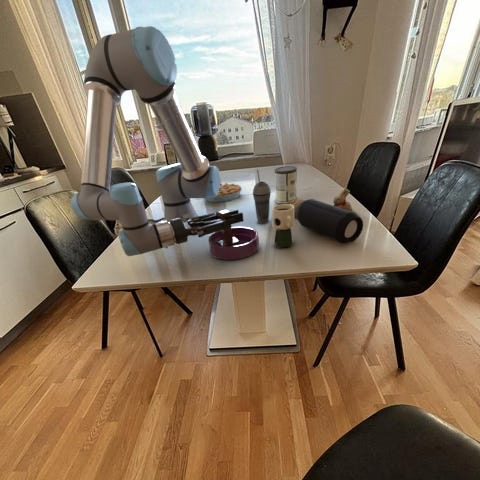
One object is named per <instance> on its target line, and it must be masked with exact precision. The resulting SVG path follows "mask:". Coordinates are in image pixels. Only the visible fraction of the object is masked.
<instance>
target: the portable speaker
mask: <svg viewBox="0 0 480 480" xmlns="http://www.w3.org/2000/svg"><path fill="white" fill-rule="evenodd" d="M304 200H305V201H303V202H301V203H300V205H299V206H298V208H297V211H296V217H297V218H296V220H297V221H298V223H299V224H300V225H301V226H303V227H305V228H308V229H310V230H313V231H315V232H317V233H319V234H321V235H323V236H325V237H328V238H330V239H333V240H334V241H336V242H339V243H341V244H349V243H354V242H355V241H357V239H358V238H359V237H360V235H361V234H362V232H363V228H364V221H363V218H361V216H360V215H359V214H357V213H356V212H354V211H348V210H345V209H342V208H339V207H336V206H333V205H334V204H333V205H332V204H329V203H326V202H323V201H320V200H317V199H314V198H310V199H304Z"/></svg>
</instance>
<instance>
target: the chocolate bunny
mask: <svg viewBox="0 0 480 480" xmlns="http://www.w3.org/2000/svg"><path fill="white" fill-rule="evenodd" d="M350 193H351V191H350V190H349V189H348V187H343V188H342V190H340V192H339V193H338V194H337V195H334V197H333V202H332V203H333V206H336V207H339V208H342V209H345V210H348V211H351V212H353V207H352V204H351V202H349V201H347V196H348V195H350Z"/></svg>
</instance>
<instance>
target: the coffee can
mask: <svg viewBox="0 0 480 480" xmlns="http://www.w3.org/2000/svg"><path fill="white" fill-rule="evenodd" d="M297 173H298V167H297V166H295V165H293V166H292V165H291V166H290V165H285V166H279V167H277V168H275V169H274V190H275V203H278V204H291V203H292V202H293V201H295V200H297V181H298V180H297V179H298V178H297V176H298V175H297Z"/></svg>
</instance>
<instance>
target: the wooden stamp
mask: <svg viewBox="0 0 480 480" xmlns="http://www.w3.org/2000/svg"><path fill="white" fill-rule="evenodd" d="M218 212H219V217H220V219H222V218H224V217H226V216H230V212H231V211H229V210H228V209H223V210H219V211H218ZM221 231H222V238H223V240H220V241H217V244H218V246H228V247H230V246H238V245H240V243H239V240H237V239H236V238H235V237H233V235H232V224H231V225H227V226H226V229H224V230H221Z"/></svg>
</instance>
